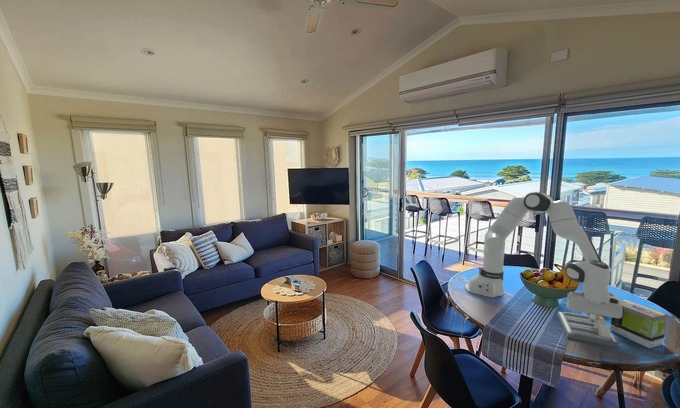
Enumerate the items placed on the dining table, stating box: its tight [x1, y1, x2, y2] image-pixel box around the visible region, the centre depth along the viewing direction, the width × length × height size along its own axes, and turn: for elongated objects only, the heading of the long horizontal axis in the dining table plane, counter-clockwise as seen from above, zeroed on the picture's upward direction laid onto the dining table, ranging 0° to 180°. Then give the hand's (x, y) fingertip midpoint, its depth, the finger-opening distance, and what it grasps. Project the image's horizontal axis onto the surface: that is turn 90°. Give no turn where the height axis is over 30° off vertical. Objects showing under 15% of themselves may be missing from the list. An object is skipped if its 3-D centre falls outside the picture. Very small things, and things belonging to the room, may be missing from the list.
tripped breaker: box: [594, 315, 606, 328], centre depth 139 cm, size 3×4×5 cm
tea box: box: [609, 299, 668, 349], centre depth 134 cm, size 15×10×15 cm, turn 17°
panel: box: [556, 310, 619, 348], centre depth 141 cm, size 18×22×7 cm
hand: (591, 321), depth 140 cm, fingers closed
